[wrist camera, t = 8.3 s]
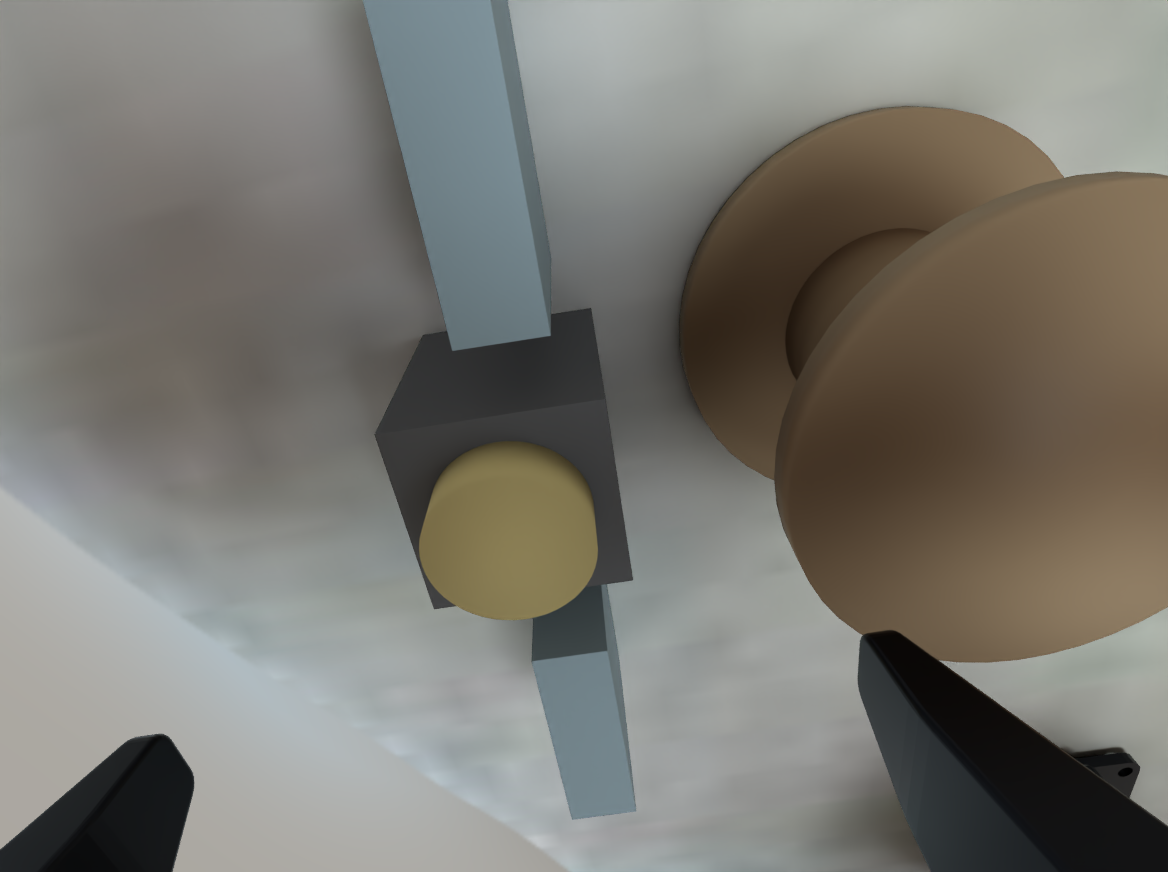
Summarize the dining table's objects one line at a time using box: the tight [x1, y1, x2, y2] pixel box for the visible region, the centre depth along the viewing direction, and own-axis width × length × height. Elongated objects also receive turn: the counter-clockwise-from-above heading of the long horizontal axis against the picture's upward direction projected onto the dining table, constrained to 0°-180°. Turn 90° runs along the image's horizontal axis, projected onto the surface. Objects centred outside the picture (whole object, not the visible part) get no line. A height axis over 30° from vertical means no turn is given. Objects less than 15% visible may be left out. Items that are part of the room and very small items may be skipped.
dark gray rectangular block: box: [375, 308, 633, 620], centre depth 14 cm, size 4×4×6 cm
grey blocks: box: [363, 0, 636, 820], centre depth 15 cm, size 18×2×5 cm, turn 8°
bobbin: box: [679, 106, 1168, 662], centre depth 13 cm, size 9×9×7 cm
